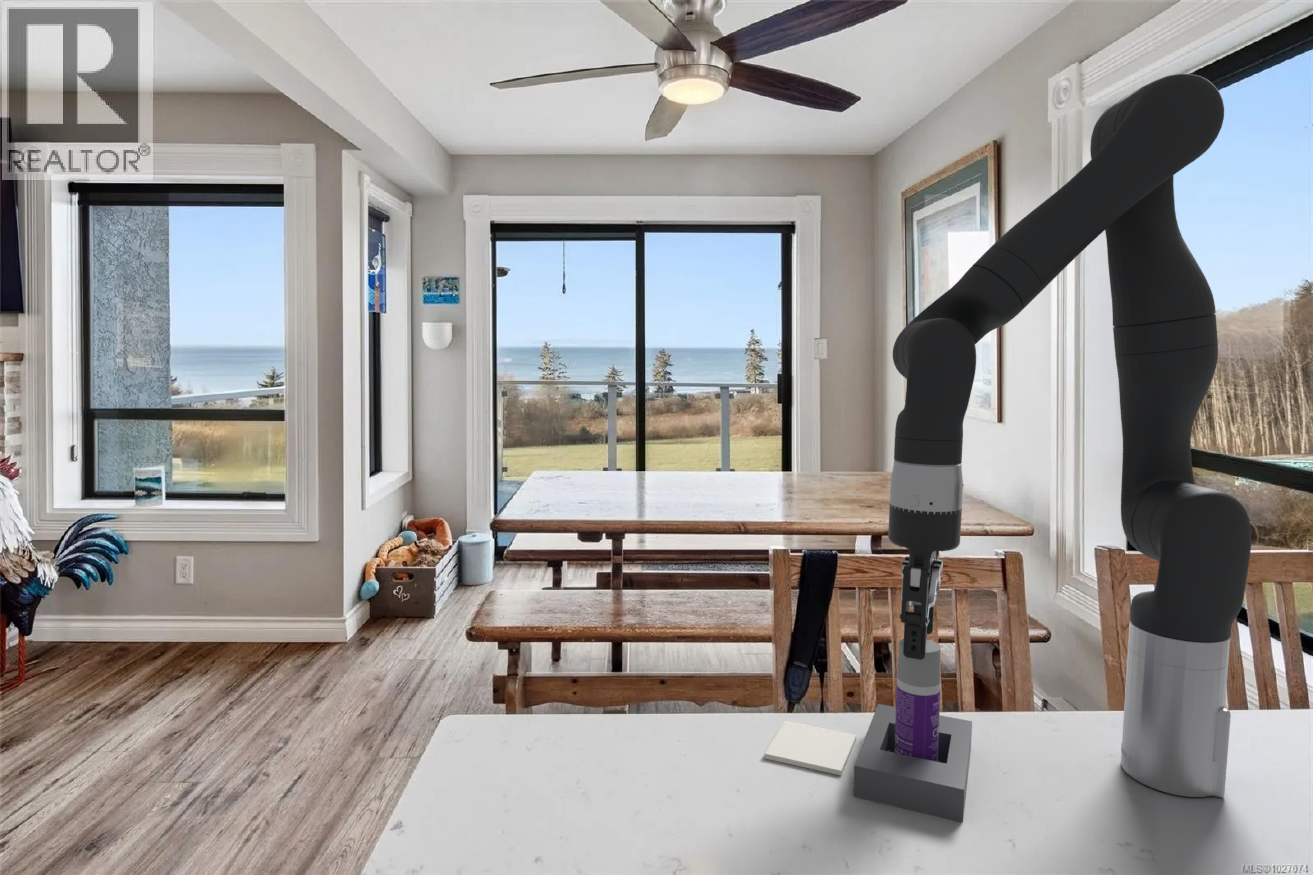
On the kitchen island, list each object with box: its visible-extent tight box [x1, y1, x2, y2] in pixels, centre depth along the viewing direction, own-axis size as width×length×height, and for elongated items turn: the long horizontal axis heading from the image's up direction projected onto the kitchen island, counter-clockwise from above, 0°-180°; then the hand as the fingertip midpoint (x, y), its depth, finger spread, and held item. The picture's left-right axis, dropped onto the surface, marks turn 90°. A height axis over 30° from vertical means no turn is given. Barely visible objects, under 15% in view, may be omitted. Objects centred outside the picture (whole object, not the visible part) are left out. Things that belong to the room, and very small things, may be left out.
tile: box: [764, 720, 857, 776], centre depth 92 cm, size 9×9×1 cm
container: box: [894, 638, 942, 762], centre depth 86 cm, size 5×5×15 cm
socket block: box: [852, 703, 973, 823], centre depth 87 cm, size 11×16×4 cm
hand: (918, 644), depth 85 cm, fingers open, 8 cm apart
